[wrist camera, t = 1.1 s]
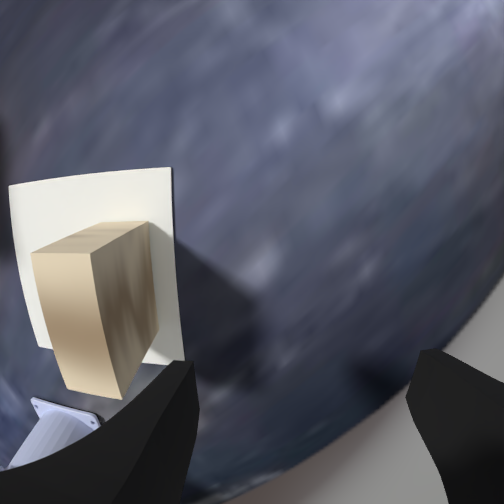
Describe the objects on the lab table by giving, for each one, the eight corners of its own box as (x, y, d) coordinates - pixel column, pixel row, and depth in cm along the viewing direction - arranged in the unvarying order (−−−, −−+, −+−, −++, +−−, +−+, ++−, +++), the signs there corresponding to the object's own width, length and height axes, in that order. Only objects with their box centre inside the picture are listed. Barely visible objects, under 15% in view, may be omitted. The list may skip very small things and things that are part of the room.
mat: (185, 365, 20) (185, 366, 20) (39, 345, 20) (38, 346, 20) (171, 167, 16) (170, 167, 16) (9, 185, 16) (8, 185, 16)
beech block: (160, 327, 19) (122, 399, 12) (116, 324, 19) (67, 388, 12) (149, 220, 17) (89, 253, 10) (102, 221, 17) (30, 253, 10)
